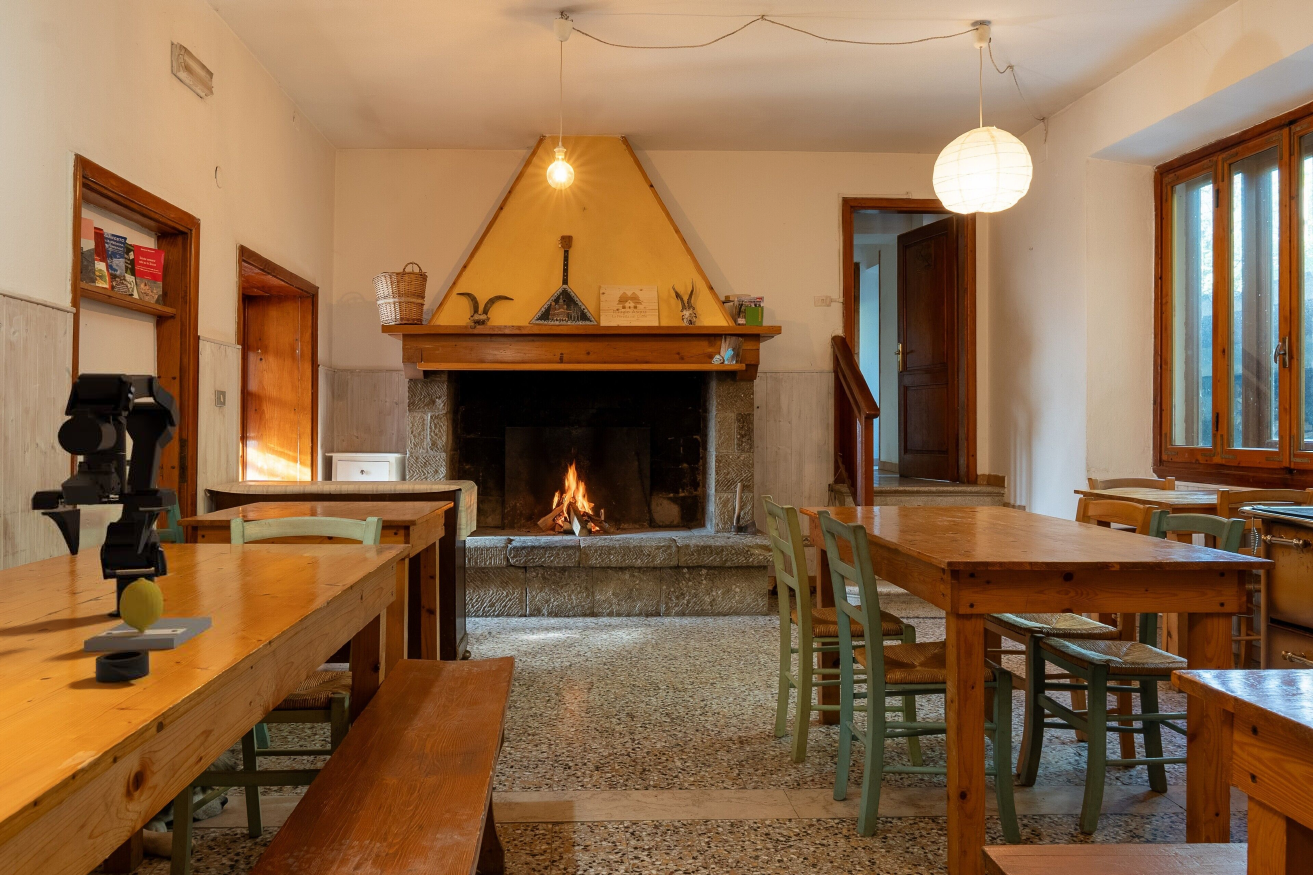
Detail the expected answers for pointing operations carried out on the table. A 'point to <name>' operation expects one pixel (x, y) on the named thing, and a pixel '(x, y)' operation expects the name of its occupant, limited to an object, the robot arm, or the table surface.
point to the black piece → (122, 666)
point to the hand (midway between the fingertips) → (106, 554)
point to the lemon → (141, 604)
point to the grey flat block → (149, 635)
